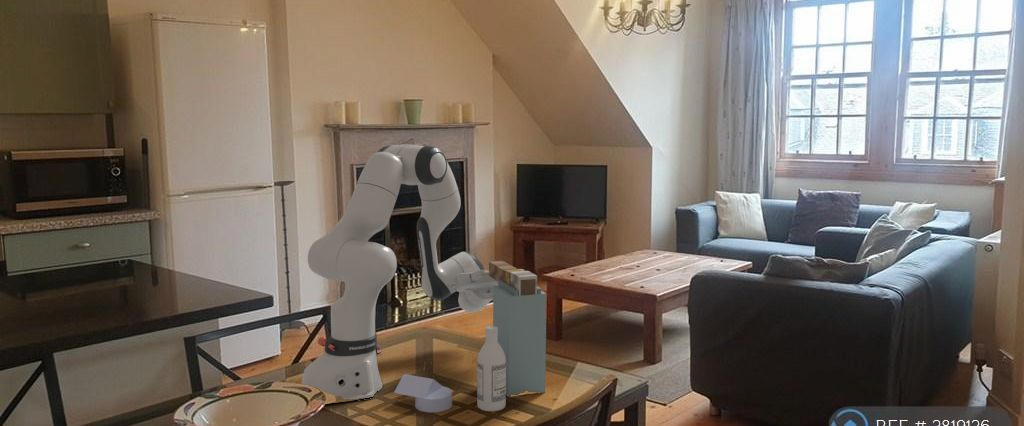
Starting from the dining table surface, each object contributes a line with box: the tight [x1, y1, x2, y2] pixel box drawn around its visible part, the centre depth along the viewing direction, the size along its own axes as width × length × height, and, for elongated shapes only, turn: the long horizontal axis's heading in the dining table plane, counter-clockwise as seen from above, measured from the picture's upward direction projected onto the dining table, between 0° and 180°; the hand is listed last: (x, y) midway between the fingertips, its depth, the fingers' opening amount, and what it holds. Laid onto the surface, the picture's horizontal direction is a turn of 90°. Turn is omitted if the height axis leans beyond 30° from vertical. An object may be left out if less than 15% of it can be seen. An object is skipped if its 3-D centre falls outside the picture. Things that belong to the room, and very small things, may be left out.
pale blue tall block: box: [492, 280, 547, 397], centre depth 203 cm, size 12×10×27 cm
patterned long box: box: [488, 260, 538, 296], centre depth 207 cm, size 24×5×5 cm, turn 21°
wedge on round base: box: [393, 373, 453, 413], centre depth 193 cm, size 9×7×13 cm
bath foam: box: [476, 325, 507, 413], centre depth 190 cm, size 7×7×20 cm
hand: (498, 271), depth 216 cm, fingers open, 8 cm apart
